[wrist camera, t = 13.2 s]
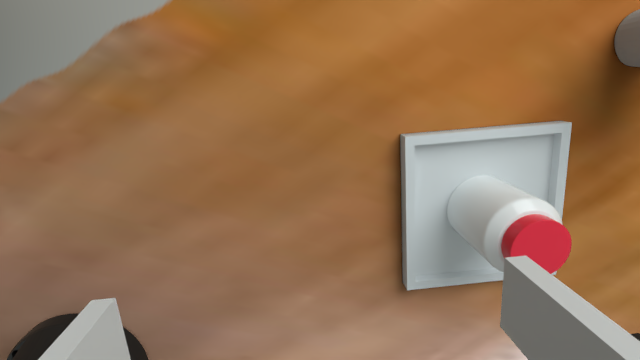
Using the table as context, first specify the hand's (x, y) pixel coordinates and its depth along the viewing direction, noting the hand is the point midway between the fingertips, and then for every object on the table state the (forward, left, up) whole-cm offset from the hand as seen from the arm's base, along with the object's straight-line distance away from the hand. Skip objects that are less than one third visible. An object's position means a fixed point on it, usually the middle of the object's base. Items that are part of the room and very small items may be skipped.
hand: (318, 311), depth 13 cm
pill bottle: (+20, -8, -28) cm, 36 cm away
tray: (+20, -8, -29) cm, 36 cm away
